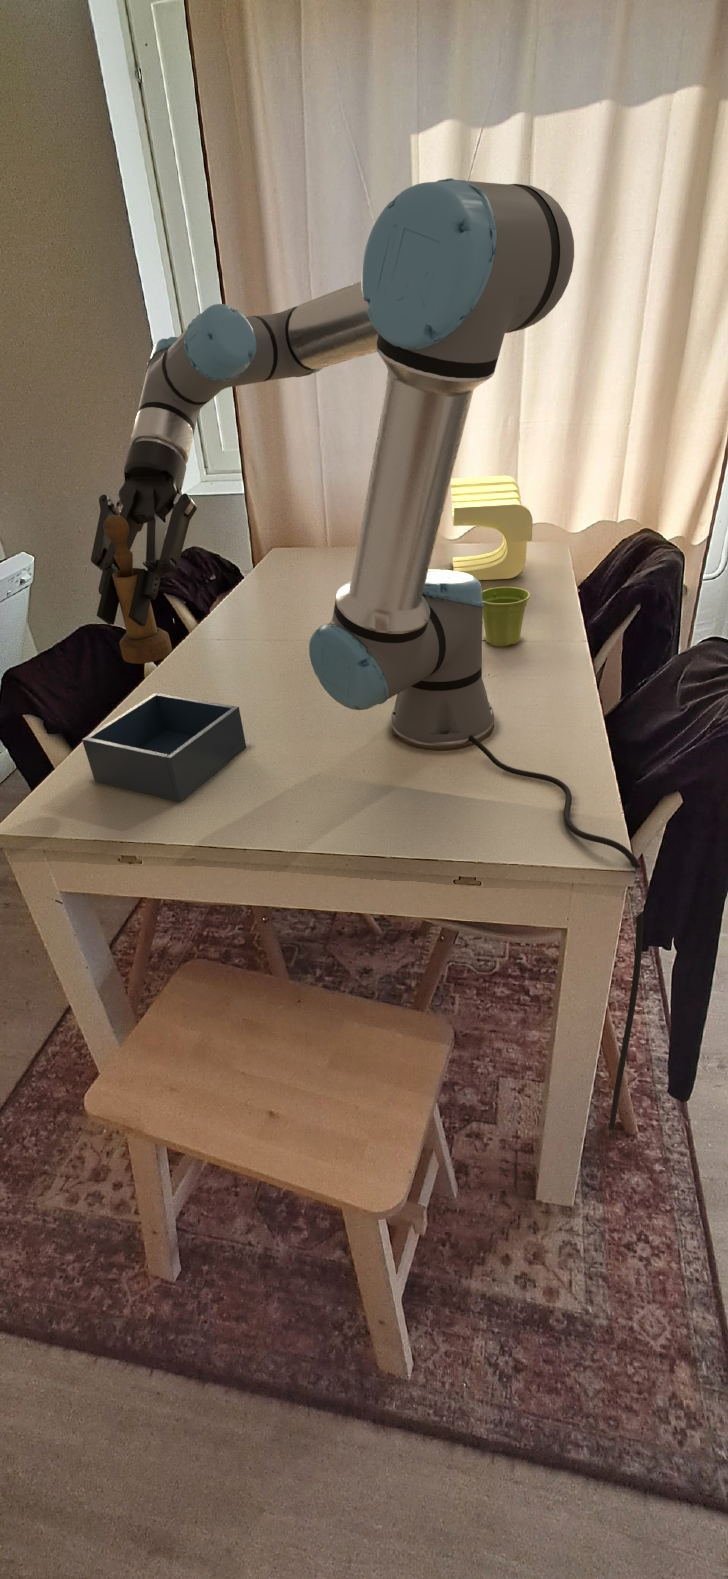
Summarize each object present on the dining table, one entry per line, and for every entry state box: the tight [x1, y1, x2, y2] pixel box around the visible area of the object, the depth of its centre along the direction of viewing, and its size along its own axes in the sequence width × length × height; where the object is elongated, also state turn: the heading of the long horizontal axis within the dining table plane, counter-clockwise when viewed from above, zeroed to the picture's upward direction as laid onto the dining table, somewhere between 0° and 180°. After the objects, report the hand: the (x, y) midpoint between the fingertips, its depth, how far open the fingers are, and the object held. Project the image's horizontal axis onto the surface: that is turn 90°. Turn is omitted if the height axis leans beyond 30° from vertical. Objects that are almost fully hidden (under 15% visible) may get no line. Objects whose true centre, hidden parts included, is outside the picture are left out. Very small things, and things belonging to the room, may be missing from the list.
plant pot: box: [482, 586, 531, 647], centre depth 139 cm, size 9×9×9 cm
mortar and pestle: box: [103, 515, 173, 665], centre depth 98 cm, size 7×6×18 cm
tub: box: [81, 692, 247, 803], centre depth 110 cm, size 16×16×7 cm
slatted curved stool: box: [450, 475, 534, 581], centre depth 173 cm, size 30×16×18 cm, turn 176°
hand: (121, 620), depth 97 cm, fingers closed on mortar and pestle, 4 cm apart
